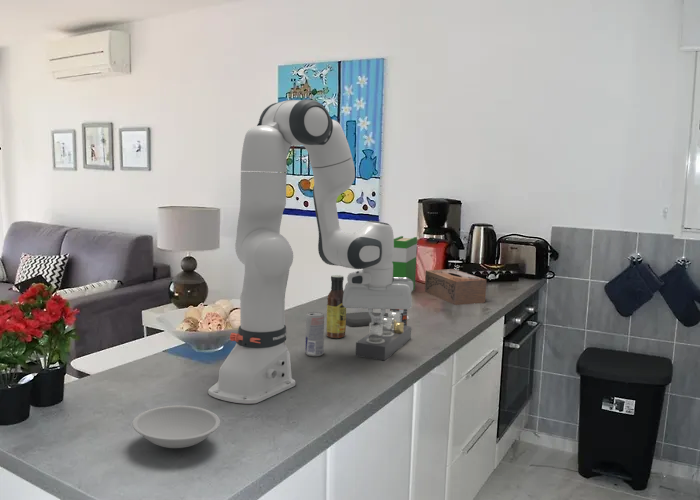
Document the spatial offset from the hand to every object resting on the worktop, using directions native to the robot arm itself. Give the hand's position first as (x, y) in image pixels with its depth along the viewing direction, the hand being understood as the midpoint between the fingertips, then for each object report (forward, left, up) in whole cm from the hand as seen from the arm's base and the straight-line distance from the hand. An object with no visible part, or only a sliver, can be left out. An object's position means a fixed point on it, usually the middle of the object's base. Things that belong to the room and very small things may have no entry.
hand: (376, 322), depth 169 cm
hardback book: (+86, +21, -10) cm, 89 cm away
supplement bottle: (+29, +3, -10) cm, 31 cm away
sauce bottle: (+11, +18, -10) cm, 23 cm away
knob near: (0, 0, -5) cm, 5 cm away
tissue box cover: (+88, -2, -10) cm, 88 cm away
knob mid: (+8, 0, -5) cm, 9 cm away
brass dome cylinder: (+12, -3, -6) cm, 13 cm away
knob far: (+16, 0, -5) cm, 17 cm away
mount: (+8, 0, -10) cm, 12 cm away
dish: (-70, +14, -10) cm, 72 cm away
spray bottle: (+35, +14, -10) cm, 39 cm away
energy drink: (-8, +16, -10) cm, 20 cm away
